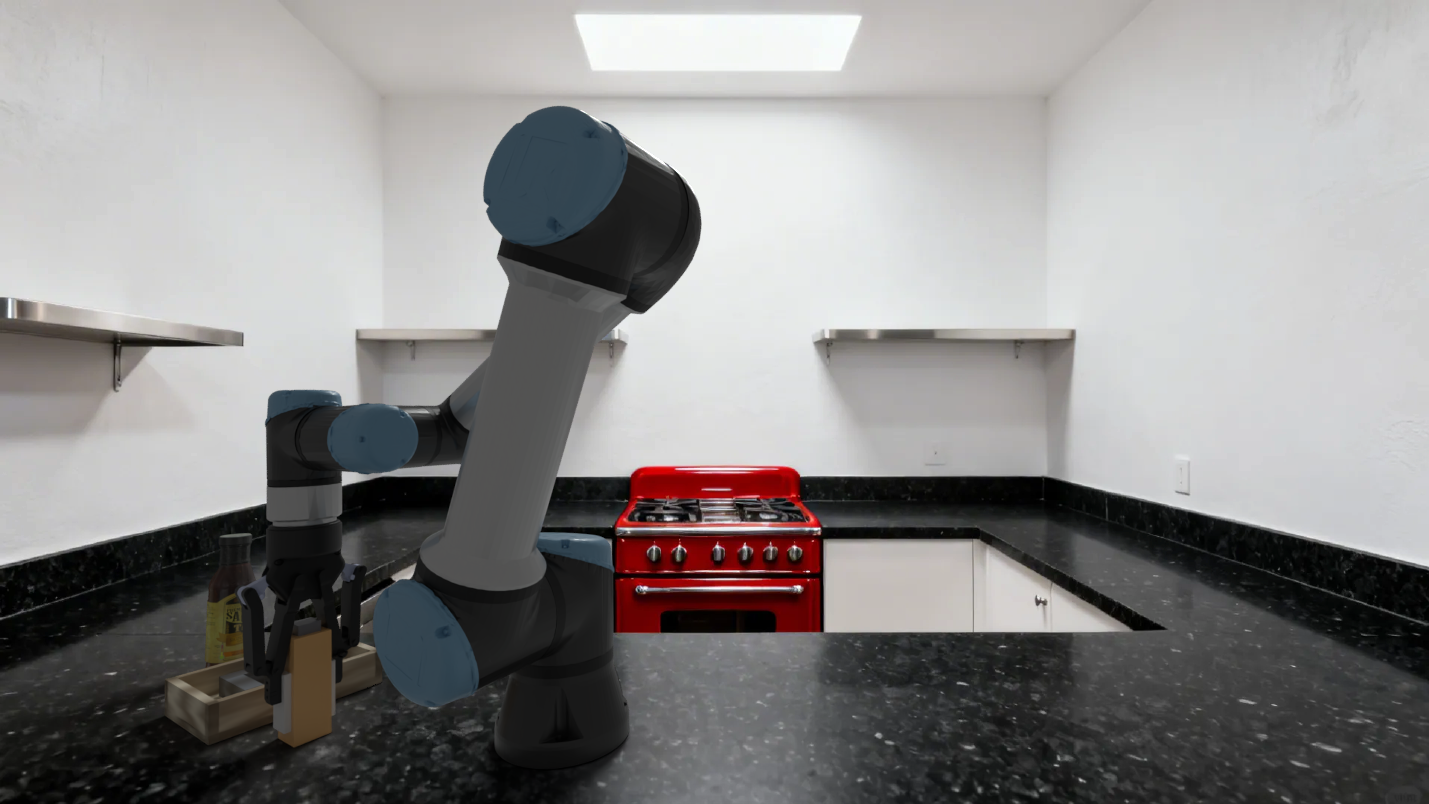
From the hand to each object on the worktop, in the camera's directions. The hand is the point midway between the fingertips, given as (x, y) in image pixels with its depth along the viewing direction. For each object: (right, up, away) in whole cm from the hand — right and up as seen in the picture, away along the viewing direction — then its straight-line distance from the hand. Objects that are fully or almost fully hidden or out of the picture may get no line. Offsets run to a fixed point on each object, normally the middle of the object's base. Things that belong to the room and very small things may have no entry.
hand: (304, 720), depth 74 cm
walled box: (-10, -2, +10) cm, 14 cm away
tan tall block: (0, -2, 0) cm, 2 cm away
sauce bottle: (-24, -3, +21) cm, 32 cm away
